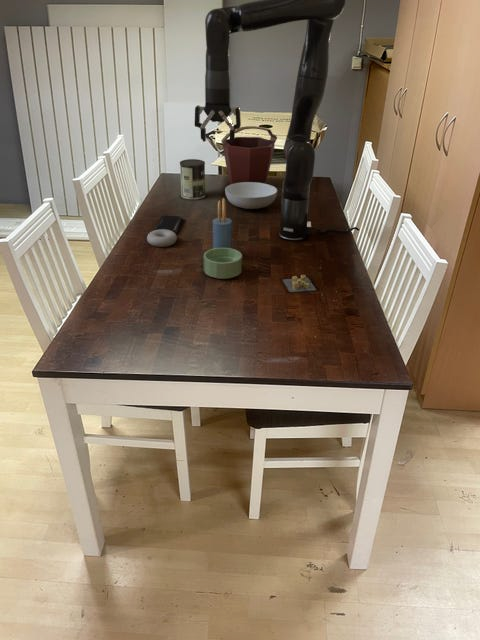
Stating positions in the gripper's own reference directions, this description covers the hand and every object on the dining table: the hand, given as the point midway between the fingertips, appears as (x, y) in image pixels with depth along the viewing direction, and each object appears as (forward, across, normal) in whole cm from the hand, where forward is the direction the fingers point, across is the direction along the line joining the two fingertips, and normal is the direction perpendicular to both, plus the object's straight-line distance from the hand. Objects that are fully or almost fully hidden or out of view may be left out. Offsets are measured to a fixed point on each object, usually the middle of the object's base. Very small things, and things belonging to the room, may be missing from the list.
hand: (217, 141), depth 164 cm
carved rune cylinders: (+32, +28, -33) cm, 54 cm away
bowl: (+32, +5, -28) cm, 43 cm away
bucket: (+32, +6, +62) cm, 70 cm away
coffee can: (+32, -16, +43) cm, 56 cm away
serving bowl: (+32, +9, +34) cm, 48 cm away
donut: (+32, -18, -8) cm, 38 cm away
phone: (+32, -19, +7) cm, 38 cm away
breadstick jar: (+32, +4, -16) cm, 36 cm away
